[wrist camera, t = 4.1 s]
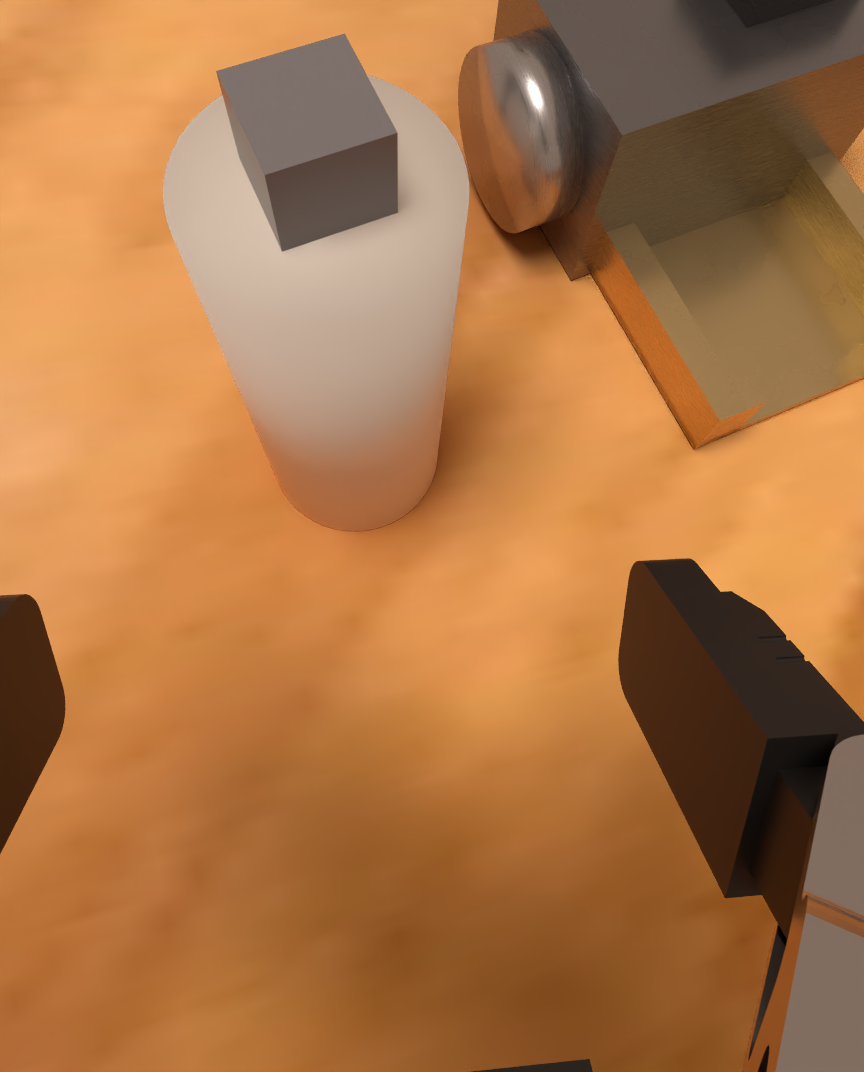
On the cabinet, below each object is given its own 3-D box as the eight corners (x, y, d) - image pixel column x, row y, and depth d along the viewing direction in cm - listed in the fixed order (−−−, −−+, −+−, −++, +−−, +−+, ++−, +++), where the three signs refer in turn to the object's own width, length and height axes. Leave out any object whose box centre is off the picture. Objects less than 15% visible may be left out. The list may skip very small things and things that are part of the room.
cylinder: (249, 413, 23) (84, 26, 11) (398, 358, 24) (397, -60, 12) (308, 556, 22) (195, 297, 10) (463, 493, 22) (538, 179, 10)
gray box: (441, 139, 26) (457, -99, 19) (719, 49, 28) (830, -199, 21) (628, 476, 23) (734, 342, 16) (931, 349, 25) (1155, 175, 17)
